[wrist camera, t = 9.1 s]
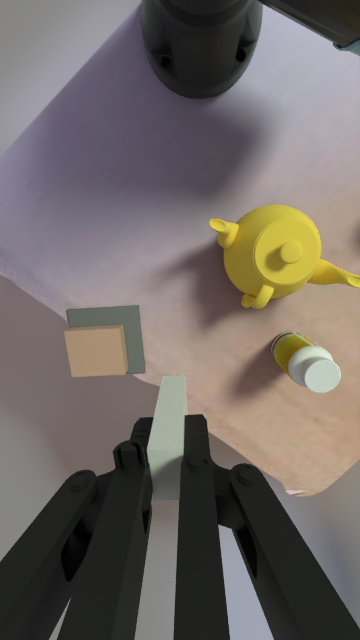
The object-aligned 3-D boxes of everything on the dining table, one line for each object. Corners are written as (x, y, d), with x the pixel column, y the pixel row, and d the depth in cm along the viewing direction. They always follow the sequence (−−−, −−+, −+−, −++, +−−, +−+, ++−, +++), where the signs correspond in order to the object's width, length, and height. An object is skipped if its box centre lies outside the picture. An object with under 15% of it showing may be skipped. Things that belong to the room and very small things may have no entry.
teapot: (183, 281, 41) (183, 289, 30) (219, 188, 38) (234, 157, 26) (295, 324, 42) (334, 347, 31) (339, 238, 39) (400, 228, 28)
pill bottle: (267, 363, 44) (294, 397, 33) (272, 329, 42) (302, 353, 32) (303, 366, 44) (341, 400, 33) (309, 331, 42) (351, 356, 32)
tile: (123, 324, 42) (70, 327, 43) (119, 328, 40) (63, 331, 40) (128, 368, 44) (78, 370, 44) (125, 374, 42) (71, 377, 42)
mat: (68, 309, 42) (67, 310, 42) (138, 305, 42) (138, 305, 42) (79, 375, 45) (78, 376, 45) (145, 371, 45) (145, 372, 44)
